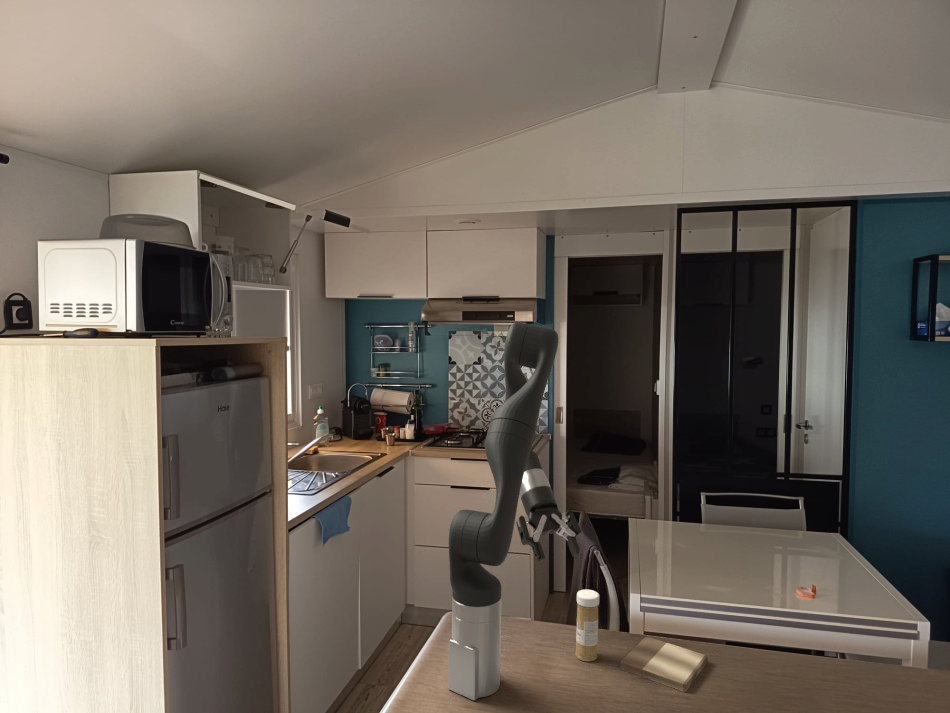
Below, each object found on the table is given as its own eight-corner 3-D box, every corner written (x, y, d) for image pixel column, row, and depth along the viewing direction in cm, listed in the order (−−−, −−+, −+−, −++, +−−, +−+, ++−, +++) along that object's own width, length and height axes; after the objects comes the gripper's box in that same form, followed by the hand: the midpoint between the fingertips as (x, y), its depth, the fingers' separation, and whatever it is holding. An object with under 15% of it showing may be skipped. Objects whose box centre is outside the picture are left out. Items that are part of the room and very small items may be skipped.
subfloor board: (685, 692, 123) (685, 684, 123) (620, 669, 131) (620, 661, 131) (707, 663, 133) (707, 655, 133) (646, 642, 141) (646, 635, 141)
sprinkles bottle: (572, 651, 137) (574, 588, 136) (594, 650, 138) (595, 588, 137) (578, 663, 133) (580, 598, 132) (600, 662, 133) (602, 597, 132)
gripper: (513, 487, 149) (536, 554, 139) (568, 481, 154) (594, 545, 145) (503, 503, 154) (524, 569, 144) (556, 497, 160) (580, 560, 150)
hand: (559, 557), depth 144 cm, fingers open, 8 cm apart
